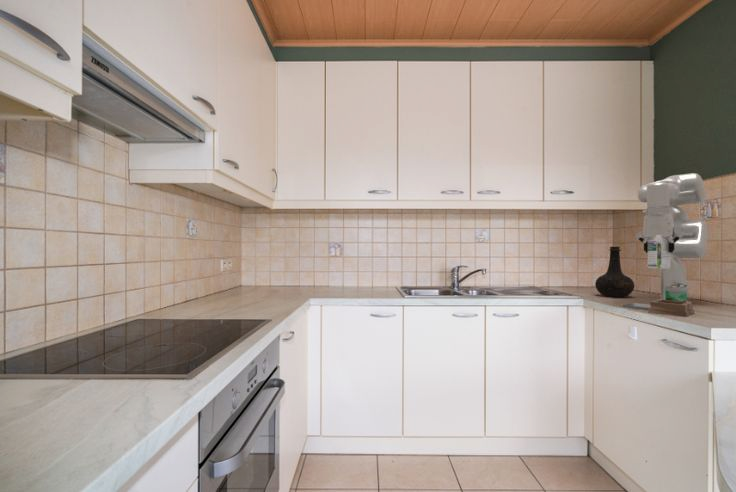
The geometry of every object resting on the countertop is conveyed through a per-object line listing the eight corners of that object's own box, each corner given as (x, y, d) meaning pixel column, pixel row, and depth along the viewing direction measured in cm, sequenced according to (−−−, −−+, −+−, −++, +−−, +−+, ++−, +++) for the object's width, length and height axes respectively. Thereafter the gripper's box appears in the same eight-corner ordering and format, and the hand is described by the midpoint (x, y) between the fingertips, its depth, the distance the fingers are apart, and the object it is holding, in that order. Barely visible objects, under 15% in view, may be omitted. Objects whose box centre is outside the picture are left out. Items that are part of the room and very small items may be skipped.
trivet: (631, 304, 169) (631, 302, 169) (660, 307, 160) (660, 305, 160) (622, 306, 163) (622, 304, 163) (652, 310, 154) (652, 308, 154)
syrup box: (646, 268, 155) (646, 235, 155) (658, 268, 156) (658, 235, 156) (659, 268, 149) (659, 234, 149) (671, 268, 150) (671, 234, 150)
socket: (657, 309, 155) (657, 299, 155) (694, 313, 145) (694, 302, 145) (648, 312, 148) (648, 301, 148) (686, 316, 138) (686, 305, 138)
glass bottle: (590, 296, 199) (589, 246, 199) (602, 293, 210) (602, 246, 210) (627, 299, 184) (627, 246, 185) (639, 296, 195) (638, 246, 195)
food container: (680, 310, 157) (681, 288, 156) (664, 307, 162) (664, 286, 161) (694, 306, 162) (695, 284, 161) (678, 303, 167) (678, 282, 167)
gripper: (631, 213, 157) (631, 252, 157) (682, 209, 143) (683, 253, 144) (636, 213, 162) (637, 252, 162) (686, 210, 148) (687, 252, 148)
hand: (658, 252), depth 153 cm, fingers closed on syrup box, 7 cm apart
